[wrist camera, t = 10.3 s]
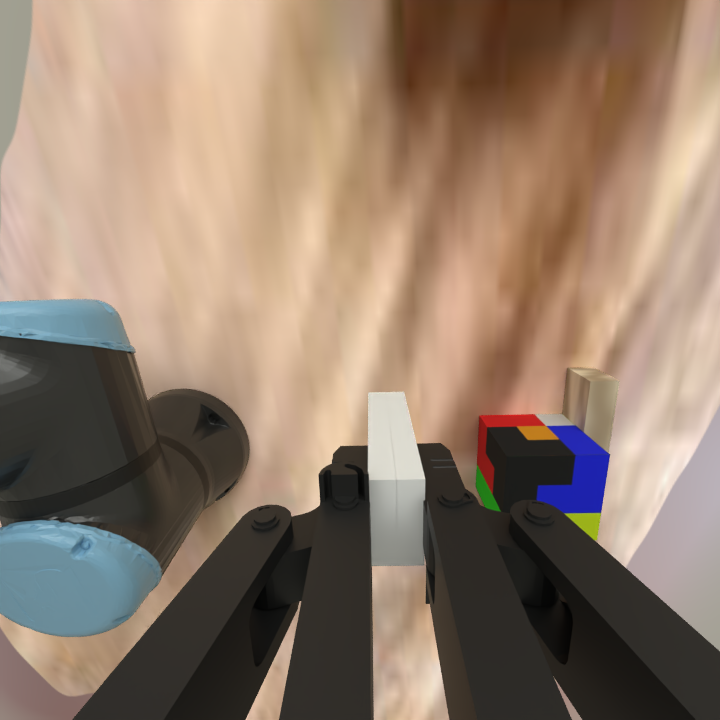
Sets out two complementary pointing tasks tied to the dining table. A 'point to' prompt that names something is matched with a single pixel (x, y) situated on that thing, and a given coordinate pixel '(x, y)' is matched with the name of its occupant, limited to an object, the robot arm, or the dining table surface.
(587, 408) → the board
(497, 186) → the dining table surface
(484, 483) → the puzzle toy
